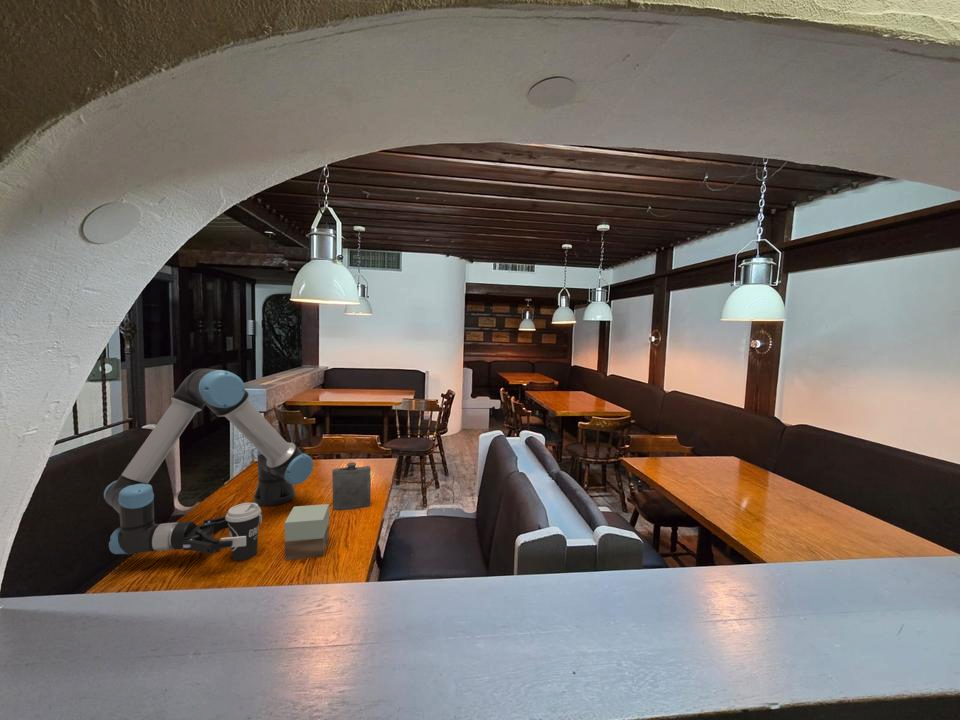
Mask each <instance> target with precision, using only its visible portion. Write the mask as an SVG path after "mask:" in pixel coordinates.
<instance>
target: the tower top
mask: <svg viewBox="0 0 960 720" xmlns="http://www.w3.org/2000/svg"><path fill="white" fill-rule="evenodd" d="M328 523H329V524H330V504H329V503H326V504H323V503H322V504H310V505H299V506H293V508H292V509H291V511H290V512H289V514H288V516H287V518H286V520H285V521H284V543H285V542H288V541H299V540H310V539H321V538H324V535H325V532H326V529H327V526H328Z"/></svg>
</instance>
